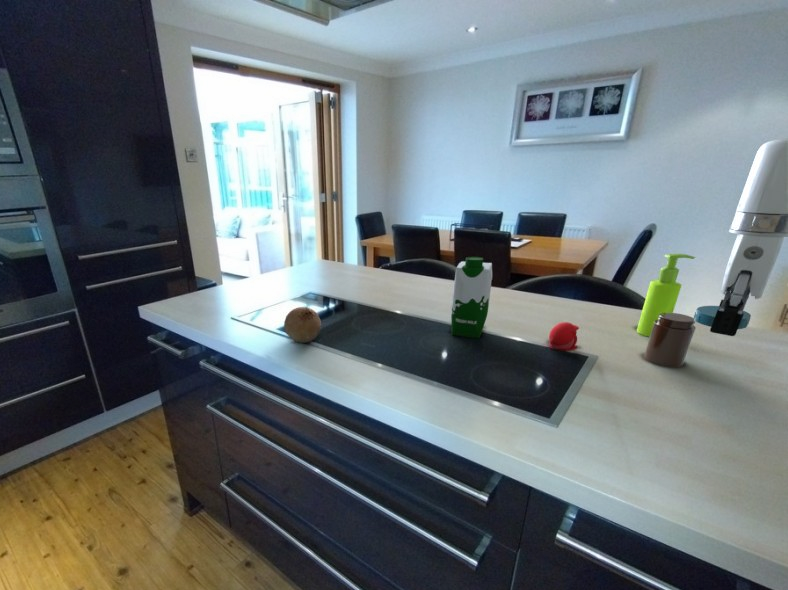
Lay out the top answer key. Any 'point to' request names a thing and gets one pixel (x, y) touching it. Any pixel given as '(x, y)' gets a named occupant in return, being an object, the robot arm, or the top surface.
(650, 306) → the soap dispenser
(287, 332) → the brown round piece
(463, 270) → the milk carton
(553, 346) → the cap
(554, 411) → the top surface
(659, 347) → the jar
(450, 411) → the top surface
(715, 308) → the lid
